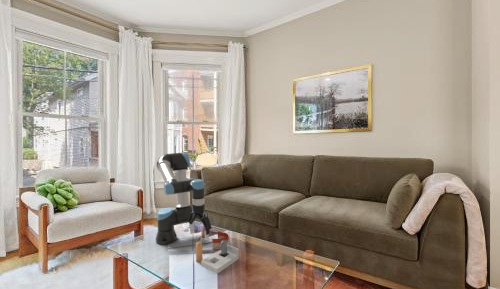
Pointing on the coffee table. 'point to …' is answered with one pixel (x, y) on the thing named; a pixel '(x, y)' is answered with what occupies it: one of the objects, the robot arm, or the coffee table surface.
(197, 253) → the orange pin
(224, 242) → the grey pin
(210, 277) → the coffee table surface
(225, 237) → the toy
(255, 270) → the coffee table surface
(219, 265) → the housing
